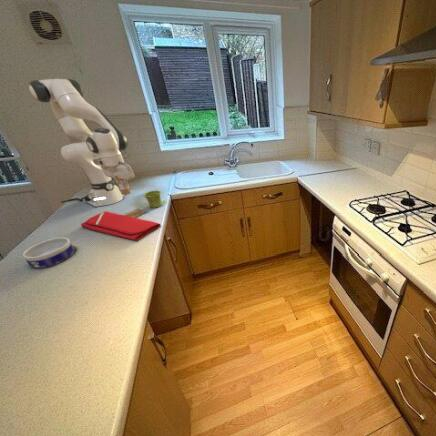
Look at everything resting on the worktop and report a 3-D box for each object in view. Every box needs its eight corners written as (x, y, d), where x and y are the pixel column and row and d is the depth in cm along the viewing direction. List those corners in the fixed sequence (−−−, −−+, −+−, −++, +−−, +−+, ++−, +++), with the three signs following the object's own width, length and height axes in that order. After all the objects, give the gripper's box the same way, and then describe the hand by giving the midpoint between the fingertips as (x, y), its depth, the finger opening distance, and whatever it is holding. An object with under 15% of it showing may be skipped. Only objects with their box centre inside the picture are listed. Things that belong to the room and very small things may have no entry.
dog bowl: (21, 272, 99) (12, 260, 96) (43, 251, 112) (36, 240, 109) (64, 264, 102) (57, 253, 99) (81, 245, 115) (75, 234, 112)
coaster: (122, 216, 141) (122, 215, 141) (136, 209, 148) (135, 209, 148) (133, 218, 138) (132, 218, 138) (146, 212, 145) (146, 211, 145)
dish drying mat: (135, 242, 116) (132, 235, 114) (81, 228, 130) (78, 222, 128) (161, 226, 129) (159, 220, 127) (109, 215, 142) (107, 209, 141)
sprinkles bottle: (120, 194, 136) (111, 171, 130) (129, 191, 139) (121, 169, 133) (123, 196, 134) (114, 172, 127) (132, 193, 137) (124, 170, 130)
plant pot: (157, 209, 148) (153, 196, 143) (144, 208, 149) (140, 195, 145) (167, 203, 156) (163, 190, 151) (155, 202, 157) (150, 190, 153)
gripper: (132, 160, 126) (141, 185, 133) (107, 158, 134) (116, 181, 140) (121, 164, 121) (131, 189, 128) (95, 161, 128) (106, 185, 135)
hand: (123, 185), depth 134 cm, fingers closed on sprinkles bottle, 4 cm apart
